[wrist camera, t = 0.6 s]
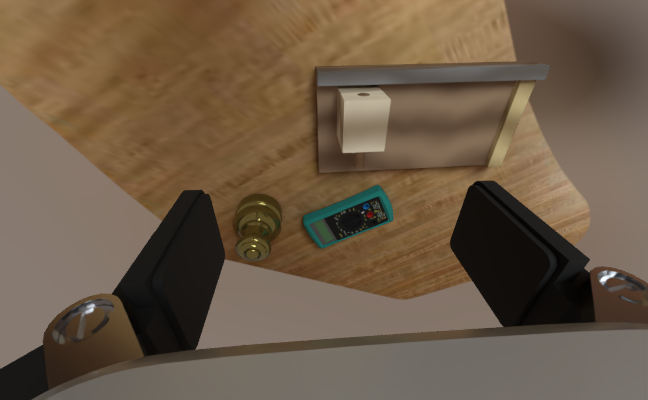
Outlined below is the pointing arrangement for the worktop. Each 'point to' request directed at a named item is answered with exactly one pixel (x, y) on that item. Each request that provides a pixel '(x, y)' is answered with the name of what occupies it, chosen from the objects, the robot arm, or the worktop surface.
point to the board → (431, 112)
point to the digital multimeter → (349, 217)
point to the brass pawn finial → (257, 226)
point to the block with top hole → (362, 120)
